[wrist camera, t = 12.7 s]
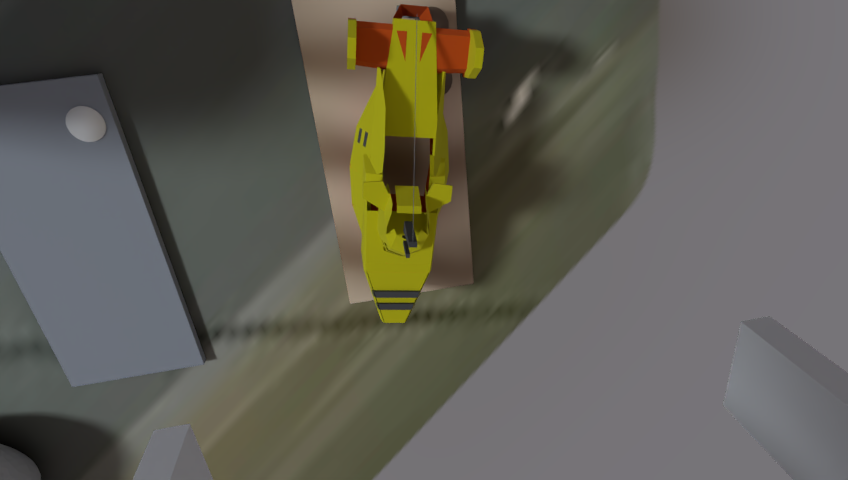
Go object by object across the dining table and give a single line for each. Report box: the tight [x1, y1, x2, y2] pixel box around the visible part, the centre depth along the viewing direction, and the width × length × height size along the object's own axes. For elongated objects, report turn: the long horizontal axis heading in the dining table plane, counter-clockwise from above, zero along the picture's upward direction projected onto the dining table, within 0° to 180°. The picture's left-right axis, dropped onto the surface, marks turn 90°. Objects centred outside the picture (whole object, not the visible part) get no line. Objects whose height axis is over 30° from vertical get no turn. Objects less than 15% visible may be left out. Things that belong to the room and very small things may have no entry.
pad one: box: [0, 73, 206, 387], centre depth 31 cm, size 20×9×1 cm, turn 6°
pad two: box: [291, 0, 474, 304], centre depth 32 cm, size 20×9×1 cm, turn 6°
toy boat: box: [347, 4, 484, 323], centre depth 27 cm, size 6×18×10 cm, turn 175°
